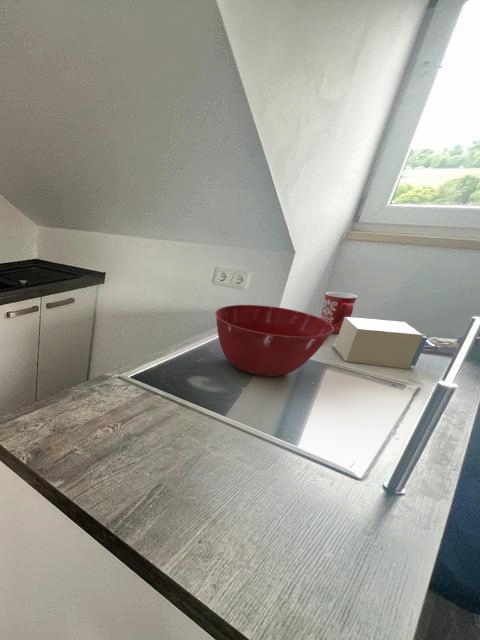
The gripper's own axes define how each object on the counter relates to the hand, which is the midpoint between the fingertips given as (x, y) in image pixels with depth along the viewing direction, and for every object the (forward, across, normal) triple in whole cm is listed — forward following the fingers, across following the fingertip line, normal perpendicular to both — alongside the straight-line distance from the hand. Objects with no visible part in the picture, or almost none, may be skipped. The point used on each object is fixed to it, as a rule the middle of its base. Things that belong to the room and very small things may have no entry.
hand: (478, 345), depth 109 cm
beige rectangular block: (+22, 0, -7) cm, 23 cm away
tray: (+18, 0, -6) cm, 19 cm away
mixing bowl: (+54, -20, -7) cm, 58 cm away
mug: (+26, +24, -7) cm, 36 cm away
